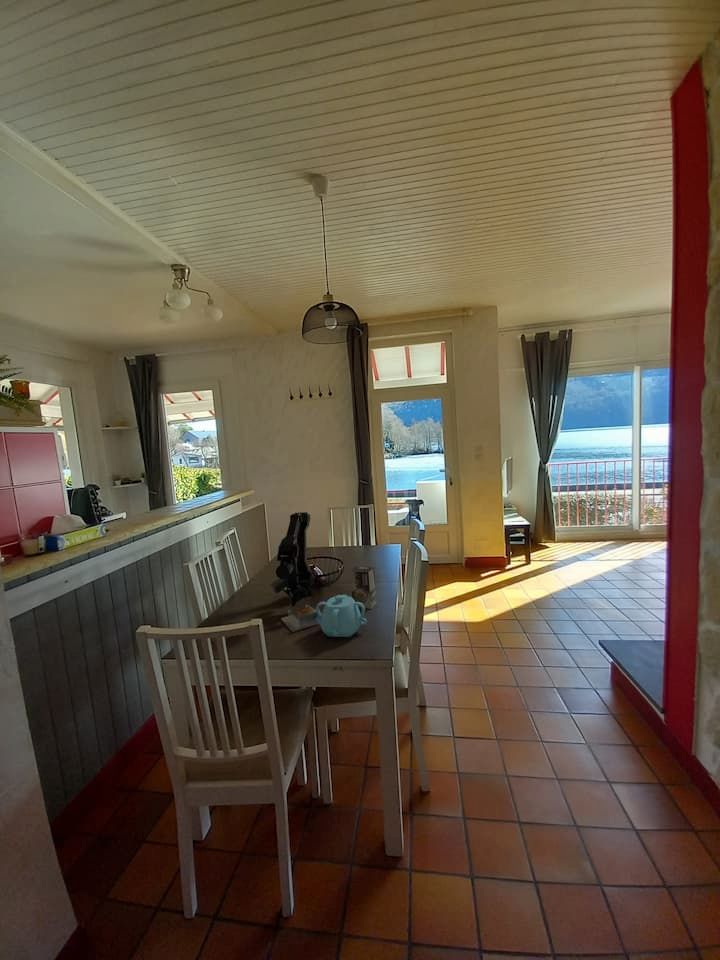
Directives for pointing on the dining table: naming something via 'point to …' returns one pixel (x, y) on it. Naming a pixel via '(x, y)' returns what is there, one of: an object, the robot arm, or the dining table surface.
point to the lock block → (304, 611)
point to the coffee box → (363, 586)
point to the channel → (300, 620)
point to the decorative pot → (340, 616)
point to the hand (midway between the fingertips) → (293, 606)
